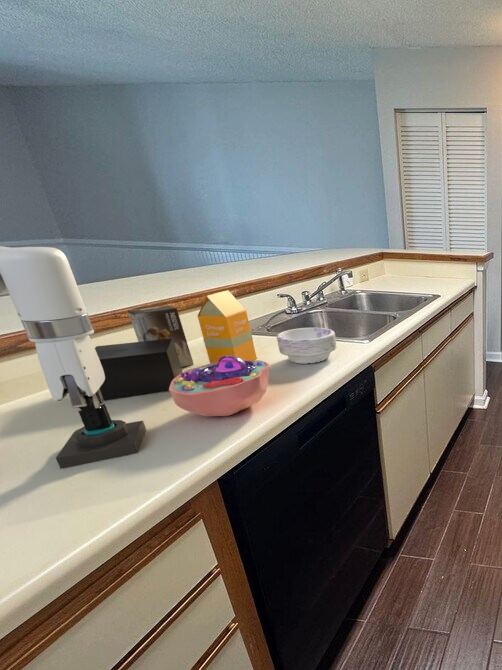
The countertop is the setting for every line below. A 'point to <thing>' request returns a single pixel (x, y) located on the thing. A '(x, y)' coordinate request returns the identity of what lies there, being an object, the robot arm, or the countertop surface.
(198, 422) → the countertop surface
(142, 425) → the control block
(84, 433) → the button
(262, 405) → the countertop surface
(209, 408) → the cell model
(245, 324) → the orange juice
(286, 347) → the paper bowls
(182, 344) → the coffee box
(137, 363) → the cabinet
